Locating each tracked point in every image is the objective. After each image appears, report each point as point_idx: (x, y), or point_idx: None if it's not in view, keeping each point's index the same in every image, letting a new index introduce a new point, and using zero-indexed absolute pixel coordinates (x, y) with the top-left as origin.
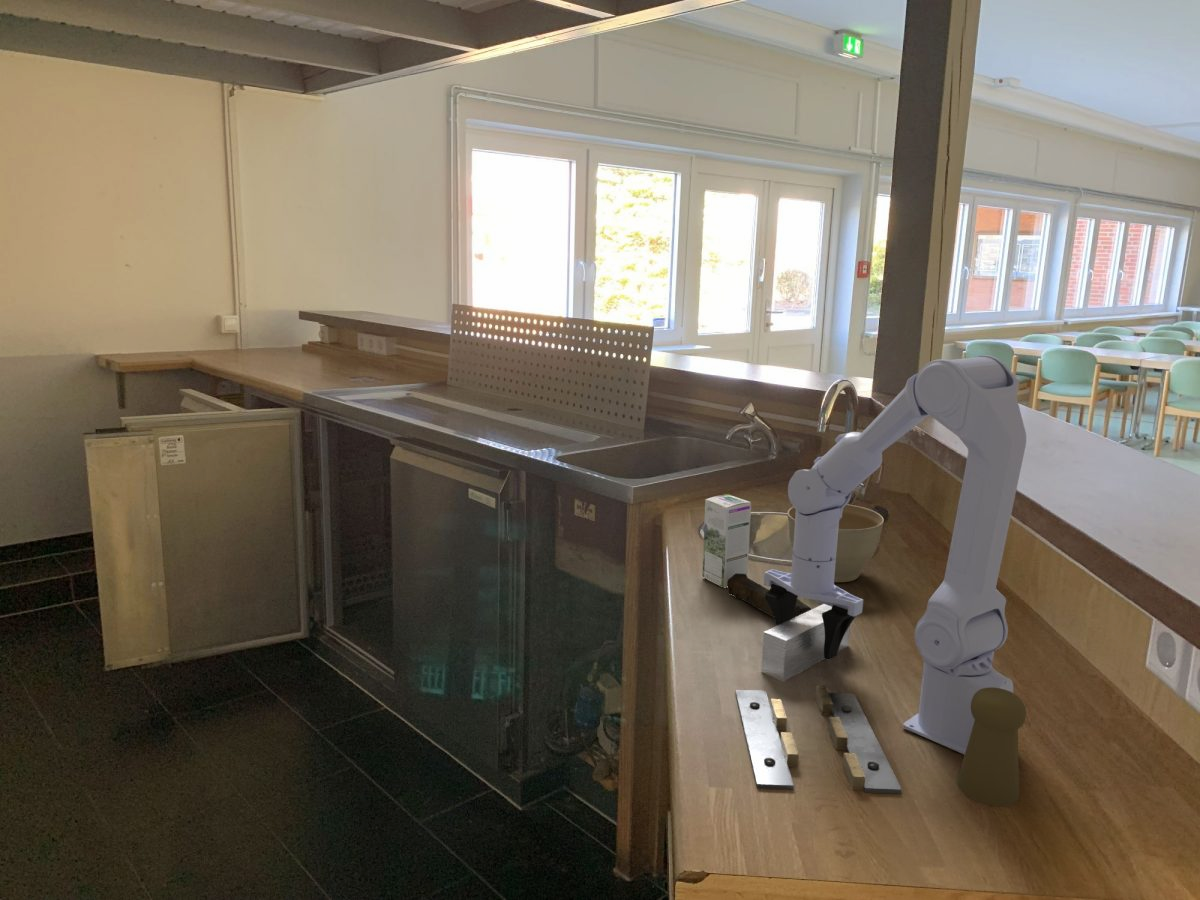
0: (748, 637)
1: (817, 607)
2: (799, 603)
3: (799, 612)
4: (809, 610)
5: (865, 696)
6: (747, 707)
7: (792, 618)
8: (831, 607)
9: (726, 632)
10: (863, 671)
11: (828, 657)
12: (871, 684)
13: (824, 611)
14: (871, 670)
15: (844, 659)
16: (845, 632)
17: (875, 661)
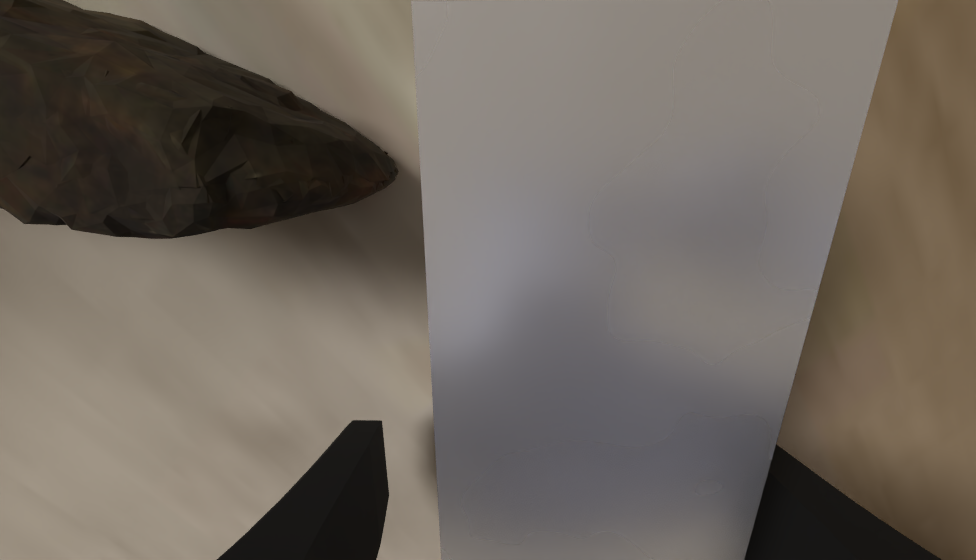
0: (158, 433)
1: (444, 400)
2: (23, 106)
3: (192, 234)
4: (239, 160)
5: (948, 513)
6: None
7: (334, 522)
8: (594, 264)
9: (45, 467)
10: (873, 314)
11: None
12: (952, 406)
13: (589, 444)
14: (915, 269)
15: None
16: (932, 557)
17: (911, 131)
